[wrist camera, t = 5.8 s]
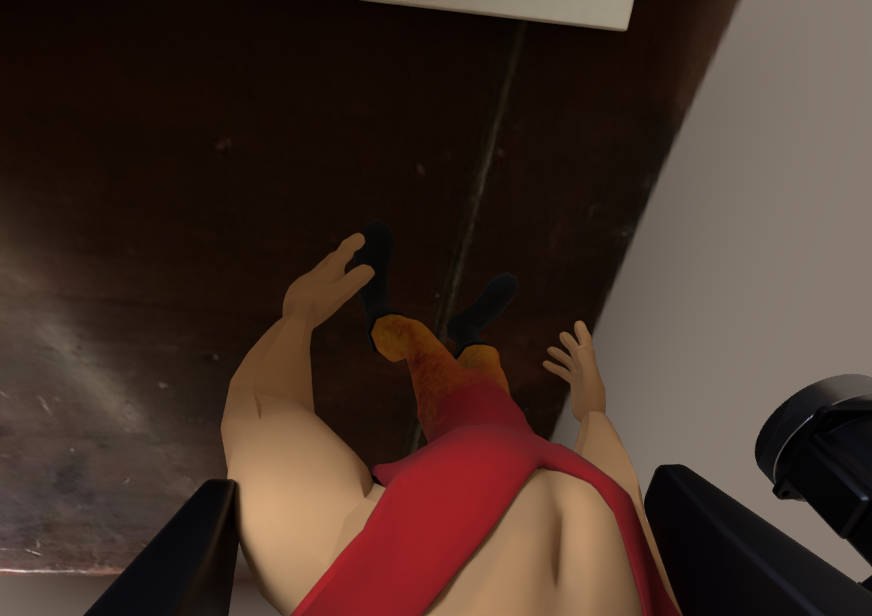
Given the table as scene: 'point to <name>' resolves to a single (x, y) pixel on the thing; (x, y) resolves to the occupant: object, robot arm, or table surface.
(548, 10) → the display board
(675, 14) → the table surface
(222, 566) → the robot arm
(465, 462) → the action figure
